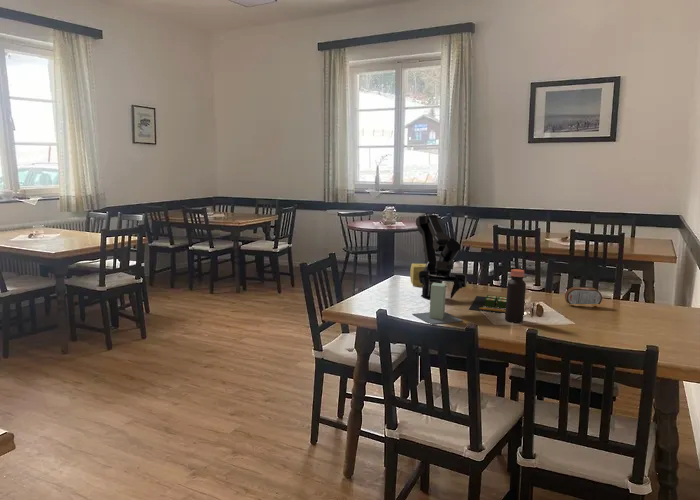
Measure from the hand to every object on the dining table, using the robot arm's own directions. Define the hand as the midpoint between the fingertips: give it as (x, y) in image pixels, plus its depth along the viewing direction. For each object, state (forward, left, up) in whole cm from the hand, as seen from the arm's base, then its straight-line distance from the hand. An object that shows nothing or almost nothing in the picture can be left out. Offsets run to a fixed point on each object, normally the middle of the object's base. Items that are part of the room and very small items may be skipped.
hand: (439, 296), depth 212 cm
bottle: (-24, +16, -8) cm, 30 cm away
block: (+3, +3, -7) cm, 8 cm away
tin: (-68, +8, -8) cm, 69 cm away
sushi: (-34, -4, -8) cm, 36 cm away
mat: (+3, +3, -8) cm, 9 cm away
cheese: (-22, -51, -8) cm, 56 cm away
